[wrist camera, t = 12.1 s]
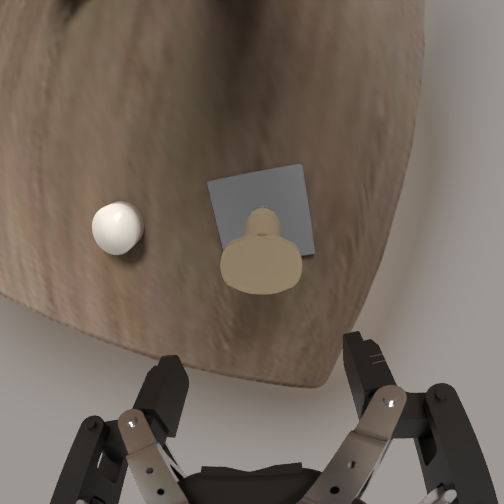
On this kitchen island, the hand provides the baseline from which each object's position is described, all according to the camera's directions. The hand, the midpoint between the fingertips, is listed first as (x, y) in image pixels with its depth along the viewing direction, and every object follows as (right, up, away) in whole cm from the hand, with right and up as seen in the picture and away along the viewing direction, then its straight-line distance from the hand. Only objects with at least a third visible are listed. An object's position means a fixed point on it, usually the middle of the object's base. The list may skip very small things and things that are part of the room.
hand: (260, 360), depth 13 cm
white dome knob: (-19, +9, +26) cm, 33 cm away
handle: (+1, +9, +24) cm, 26 cm away
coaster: (+1, +10, +24) cm, 26 cm away
